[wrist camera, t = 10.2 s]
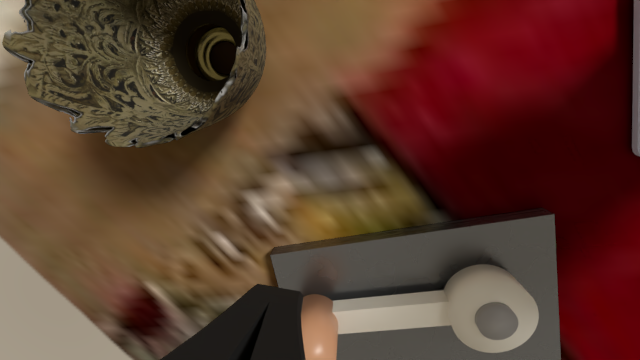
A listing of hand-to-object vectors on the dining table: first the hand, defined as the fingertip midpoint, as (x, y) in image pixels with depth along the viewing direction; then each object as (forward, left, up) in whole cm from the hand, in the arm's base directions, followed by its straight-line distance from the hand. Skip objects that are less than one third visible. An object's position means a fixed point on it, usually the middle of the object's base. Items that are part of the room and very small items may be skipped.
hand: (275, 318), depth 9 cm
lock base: (-4, +10, -9) cm, 14 cm away
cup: (+3, -9, -10) cm, 14 cm away
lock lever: (-4, +6, -8) cm, 11 cm away
